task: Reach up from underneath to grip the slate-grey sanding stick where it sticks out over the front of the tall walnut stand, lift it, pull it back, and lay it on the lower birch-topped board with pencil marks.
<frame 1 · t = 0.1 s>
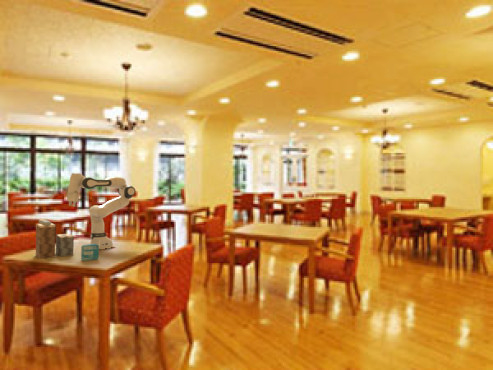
hand: (71, 206, 321), 39 cm above the table, tool pointing down, fingers open, 8 cm apart
sanding stick: (44, 223, 299), point 26 cm above the table, touching tall stand
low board: (64, 254, 305), on the table
data package: (89, 260, 289), on the table
tall stand: (45, 256, 296), on the table
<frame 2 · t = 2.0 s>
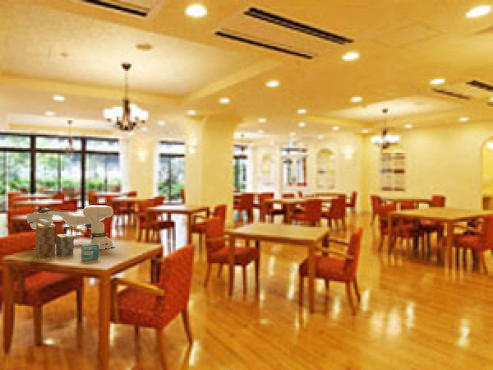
hand: (41, 212, 317), 33 cm above the table, tool pointing upward, fingers open, 8 cm apart
nothing on the table moved.
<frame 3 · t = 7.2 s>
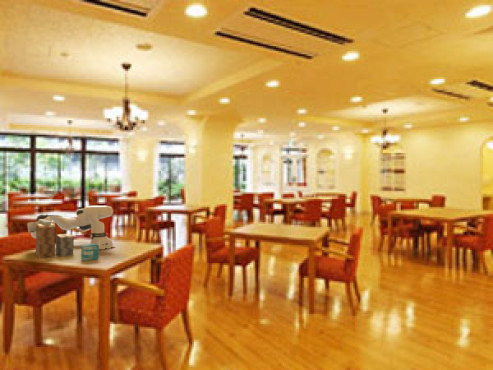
hand: (43, 221, 302), 28 cm above the table, tool pointing upward, fingers closed on sanding stick, 4 cm apart
sanding stick: (44, 223, 299), point 26 cm above the table, touching gripper, tall stand
everything else where it was.
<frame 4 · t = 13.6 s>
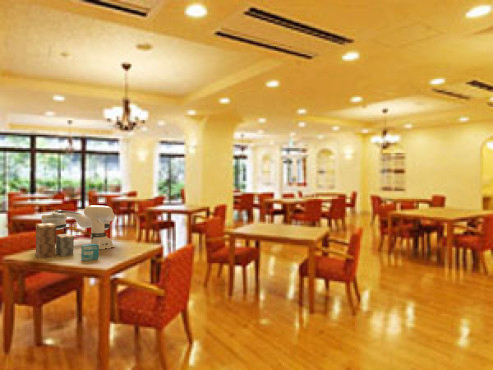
hand: (56, 214, 323), 32 cm above the table, tool pointing upward, fingers closed on sanding stick, 4 cm apart
sanding stick: (57, 216, 320), point 30 cm above the table, touching gripper
everything else where it was.
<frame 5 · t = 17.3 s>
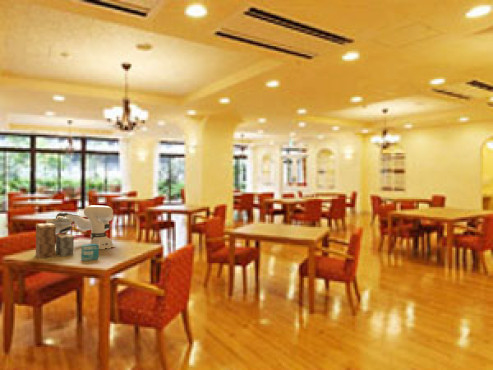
hand: (61, 217, 311), 30 cm above the table, tool pointing upward, fingers closed on sanding stick, 4 cm apart
sanding stick: (63, 220, 308), point 28 cm above the table, touching gripper
everything else where it was.
when the fingers open (19 cm above the table, at t = 20.3 s): sanding stick drops 1 cm, resting on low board.
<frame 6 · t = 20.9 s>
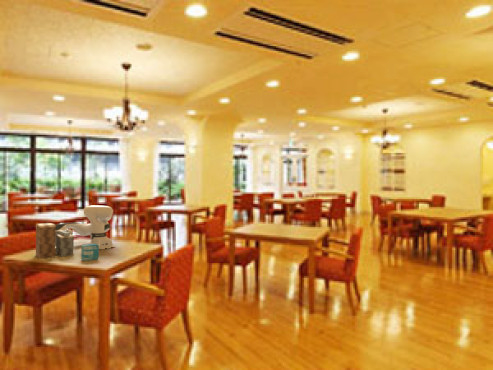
hand: (61, 230, 311), 19 cm above the table, tool pointing upward, fingers open, 8 cm apart
sanding stick: (63, 234, 308), point 16 cm above the table, touching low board
everything else where it was.
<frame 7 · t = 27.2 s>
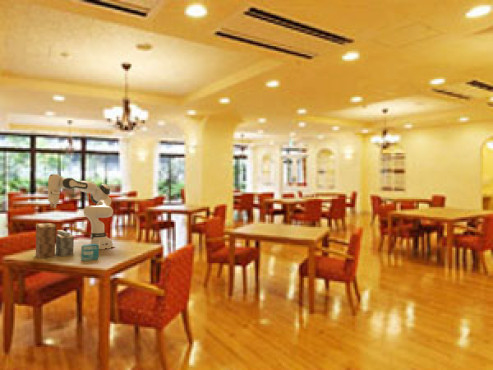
hand: (53, 207, 325), 37 cm above the table, tool pointing down, fingers open, 8 cm apart
nothing on the table moved.
at the end: sanding stick inside the target area on the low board (0.1 cm from its centre), point 16.0 cm above the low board's base; sanding stick tilted 1°; the gripper is holding nothing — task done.
